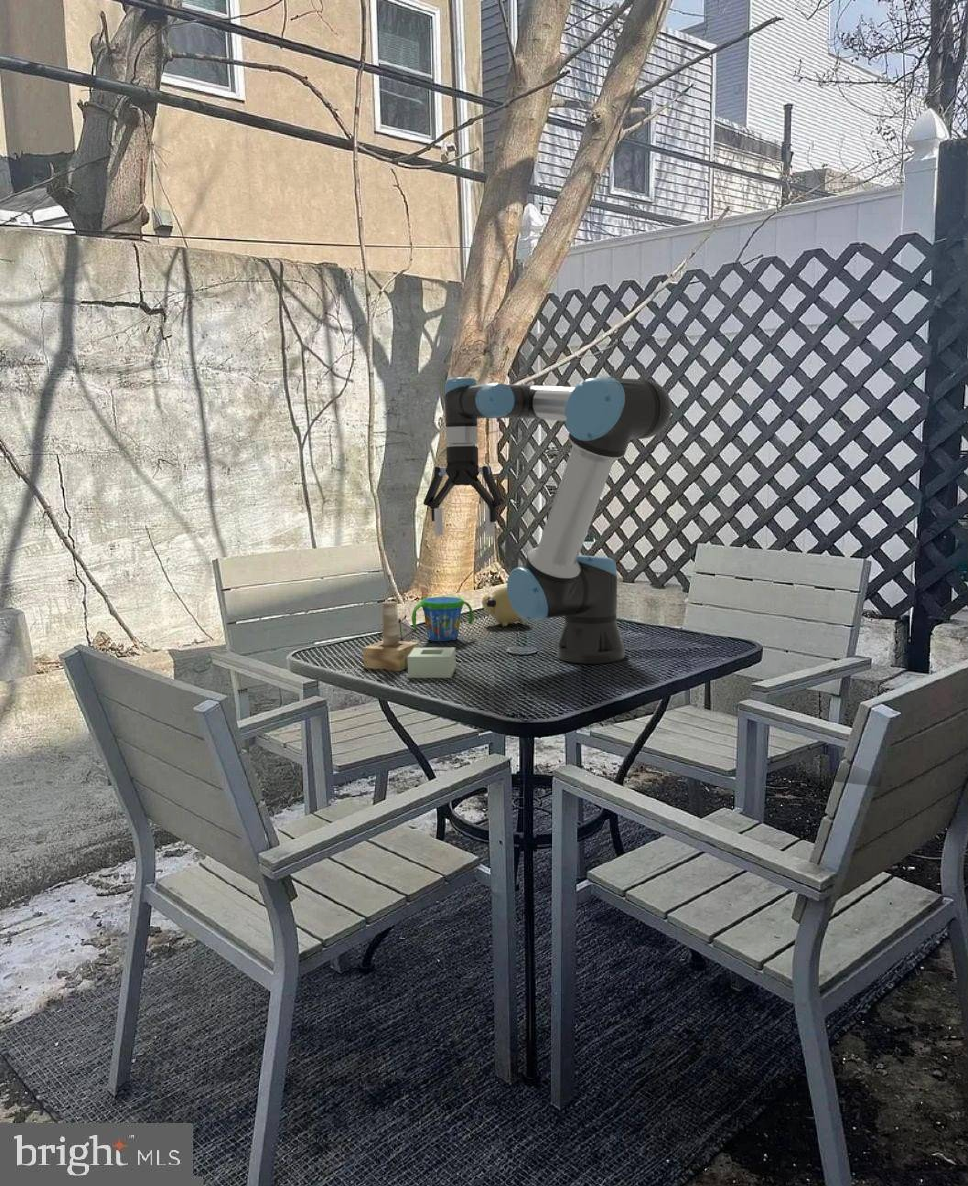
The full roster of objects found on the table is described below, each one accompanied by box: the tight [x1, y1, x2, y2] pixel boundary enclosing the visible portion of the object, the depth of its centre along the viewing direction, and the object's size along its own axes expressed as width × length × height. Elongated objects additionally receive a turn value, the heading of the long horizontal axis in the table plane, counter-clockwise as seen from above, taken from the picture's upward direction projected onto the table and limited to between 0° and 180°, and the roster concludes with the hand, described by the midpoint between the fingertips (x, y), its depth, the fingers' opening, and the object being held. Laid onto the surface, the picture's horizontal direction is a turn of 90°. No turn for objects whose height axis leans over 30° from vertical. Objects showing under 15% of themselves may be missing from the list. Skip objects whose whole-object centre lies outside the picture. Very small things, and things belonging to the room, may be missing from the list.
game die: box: [378, 615, 418, 642], centre depth 221 cm, size 9×8×10 cm
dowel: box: [381, 601, 399, 648], centre depth 204 cm, size 3×3×14 cm
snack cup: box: [411, 596, 474, 643], centre depth 231 cm, size 16×10×10 cm
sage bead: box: [407, 647, 457, 679], centre depth 197 cm, size 9×9×4 cm
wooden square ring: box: [362, 639, 420, 672], centre depth 205 cm, size 9×9×4 cm
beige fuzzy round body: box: [481, 585, 525, 627], centre depth 249 cm, size 10×12×11 cm
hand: (464, 535), depth 220 cm, fingers open, 13 cm apart
